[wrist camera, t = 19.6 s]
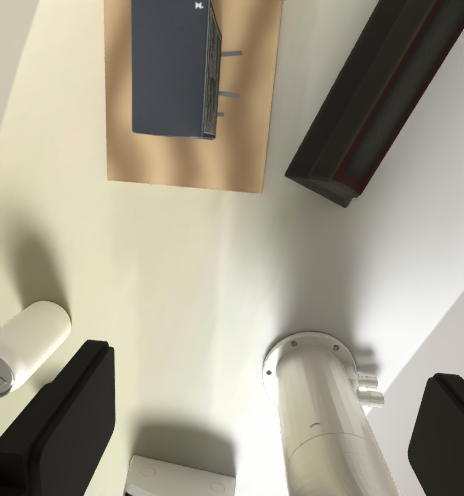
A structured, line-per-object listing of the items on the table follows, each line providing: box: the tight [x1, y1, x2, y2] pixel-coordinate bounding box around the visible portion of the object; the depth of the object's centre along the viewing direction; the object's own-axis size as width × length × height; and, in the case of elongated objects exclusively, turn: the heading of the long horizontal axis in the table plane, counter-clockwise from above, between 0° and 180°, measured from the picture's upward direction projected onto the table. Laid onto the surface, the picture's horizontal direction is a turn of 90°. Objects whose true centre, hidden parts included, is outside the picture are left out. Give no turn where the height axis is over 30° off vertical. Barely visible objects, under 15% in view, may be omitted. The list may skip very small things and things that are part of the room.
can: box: [0, 301, 71, 398], centre depth 42 cm, size 6×6×12 cm
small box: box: [131, 0, 222, 140], centre depth 32 cm, size 11×6×10 cm, turn 176°
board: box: [104, 0, 282, 193], centre depth 38 cm, size 18×22×2 cm
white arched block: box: [123, 455, 236, 496], centre depth 51 cm, size 17×5×10 cm, turn 76°
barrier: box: [285, 0, 464, 208], centre depth 34 cm, size 24×9×10 cm, turn 153°
